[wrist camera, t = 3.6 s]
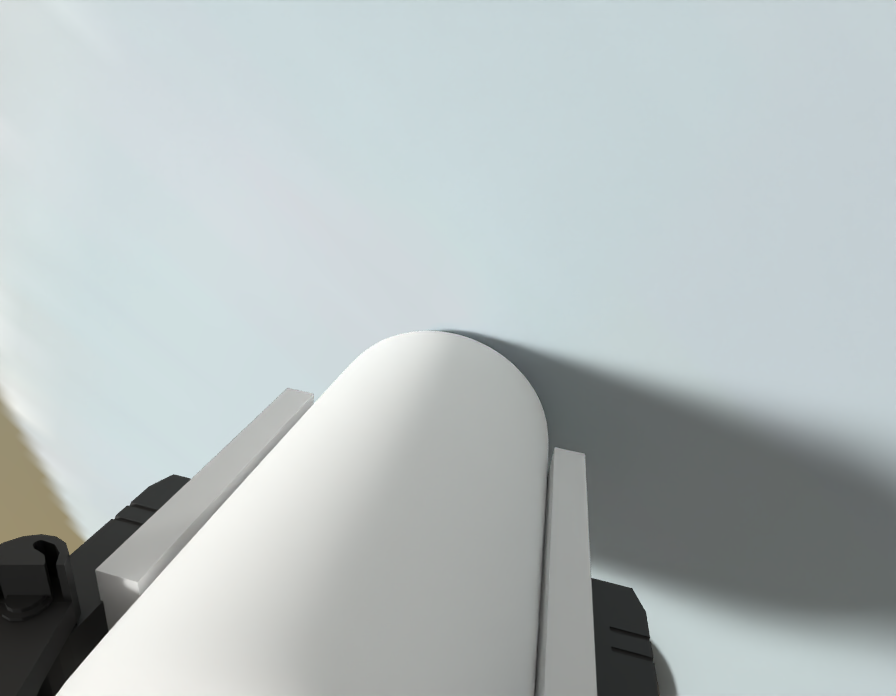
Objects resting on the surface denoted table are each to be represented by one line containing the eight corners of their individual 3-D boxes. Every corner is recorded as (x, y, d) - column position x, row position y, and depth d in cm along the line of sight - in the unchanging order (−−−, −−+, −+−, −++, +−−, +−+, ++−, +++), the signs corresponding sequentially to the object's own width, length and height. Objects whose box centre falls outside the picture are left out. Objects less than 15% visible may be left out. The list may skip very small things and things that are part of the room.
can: (313, 338, 16) (-228, 797, 5) (532, 309, 14) (416, 902, 3) (368, 517, 18) (70, 1103, 7) (563, 510, 16) (554, 1259, 6)
